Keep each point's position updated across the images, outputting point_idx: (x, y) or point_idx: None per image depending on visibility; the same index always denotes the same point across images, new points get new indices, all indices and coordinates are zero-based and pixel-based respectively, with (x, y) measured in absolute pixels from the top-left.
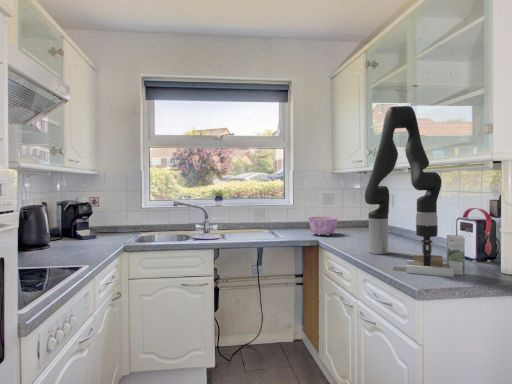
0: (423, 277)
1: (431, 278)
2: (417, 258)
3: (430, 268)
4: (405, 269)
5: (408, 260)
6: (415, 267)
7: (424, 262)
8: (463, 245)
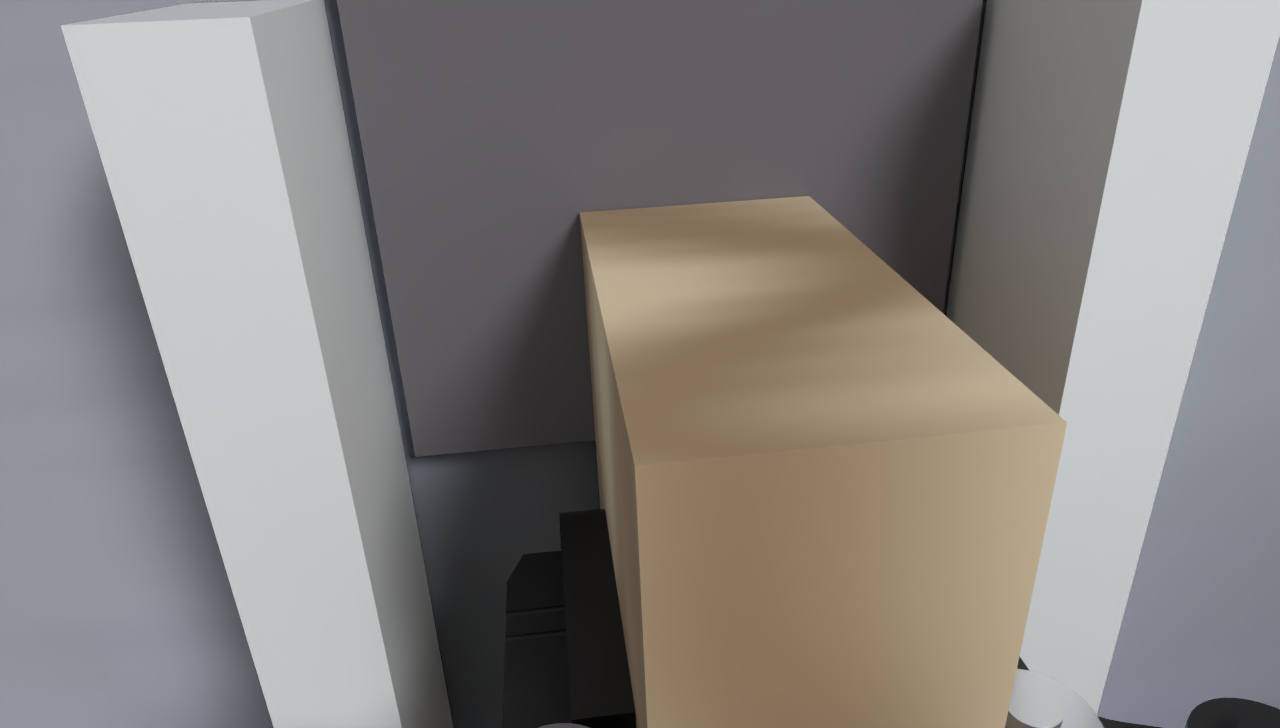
0: (3, 477)
1: (28, 626)
2: (627, 525)
3: (285, 721)
4: None
5: (1200, 36)
6: (179, 359)
7: (572, 646)
8: None
